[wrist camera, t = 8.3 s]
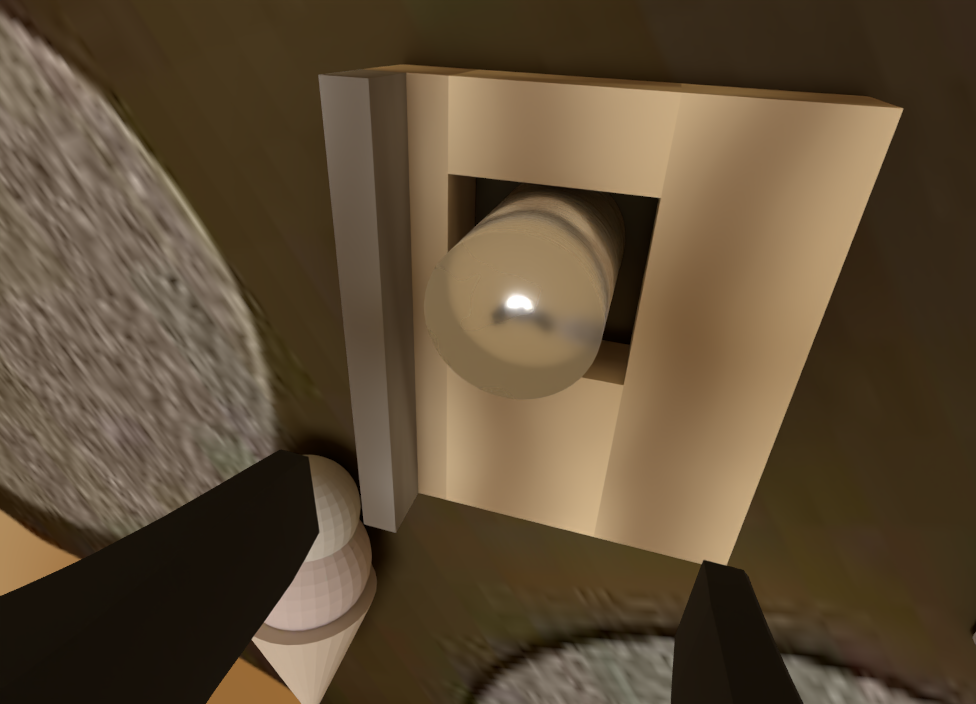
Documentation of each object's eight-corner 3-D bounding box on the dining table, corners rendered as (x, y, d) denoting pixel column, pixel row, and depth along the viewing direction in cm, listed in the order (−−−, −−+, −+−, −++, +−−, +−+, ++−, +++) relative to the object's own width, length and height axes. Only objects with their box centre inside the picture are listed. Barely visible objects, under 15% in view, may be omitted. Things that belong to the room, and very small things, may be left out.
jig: (868, 96, 13) (943, 122, 10) (720, 515, 20) (729, 623, 17) (402, 64, 16) (318, 74, 12) (414, 444, 23) (363, 524, 19)
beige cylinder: (646, 195, 16) (631, 269, 11) (599, 315, 18) (569, 422, 13) (513, 154, 16) (441, 206, 11) (484, 275, 19) (411, 364, 14)
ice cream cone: (347, 646, 32) (346, 415, 27) (394, 737, 28) (405, 482, 22) (233, 697, 29) (206, 445, 23) (265, 811, 24) (241, 531, 19)
